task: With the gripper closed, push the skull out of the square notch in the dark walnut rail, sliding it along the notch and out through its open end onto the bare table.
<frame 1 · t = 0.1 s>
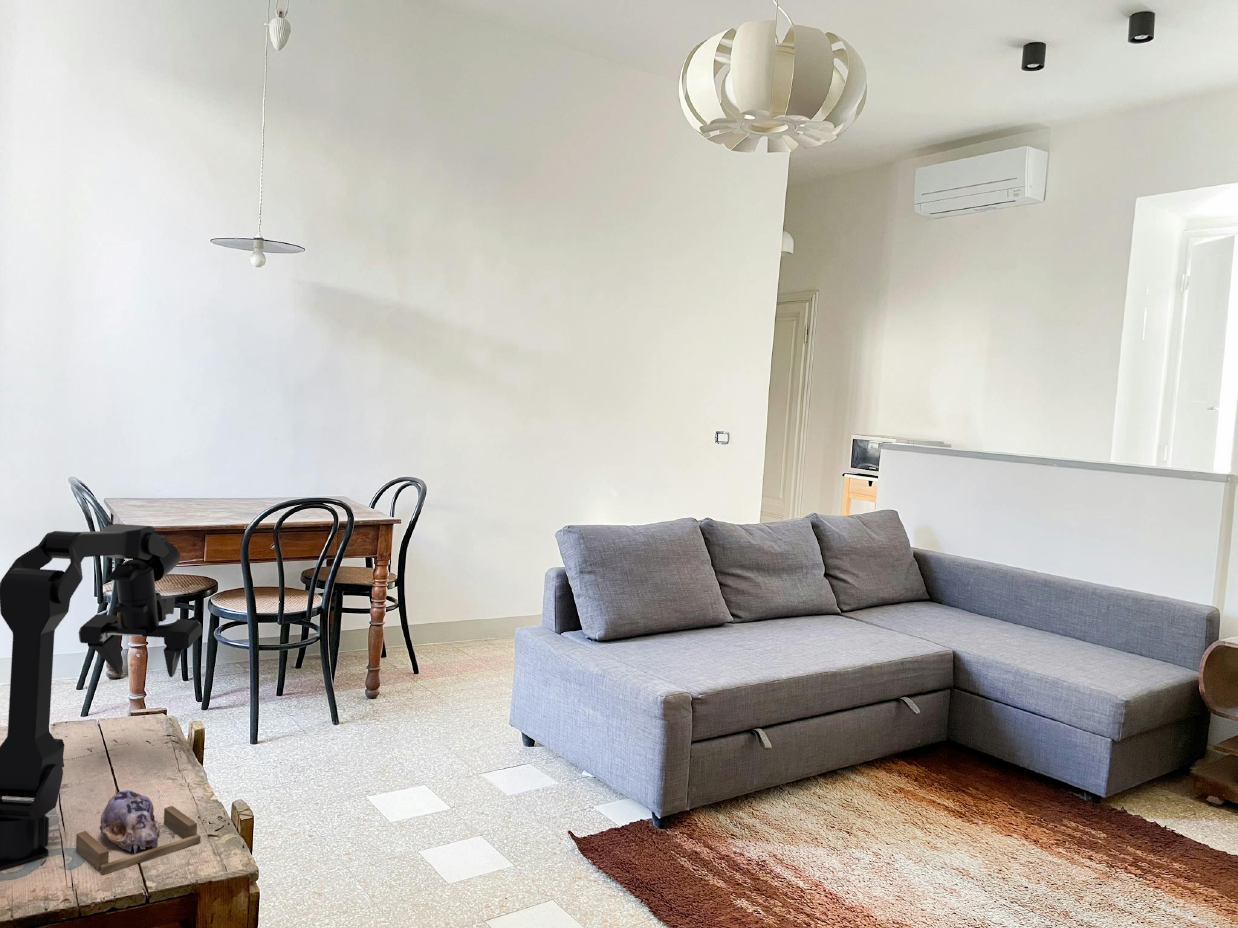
hand: (145, 674, 161), 15 cm above the table, tool pointing down, fingers open, 9 cm apart
rail notch: (139, 846, 132), on the table
skull: (131, 843, 134), on the table
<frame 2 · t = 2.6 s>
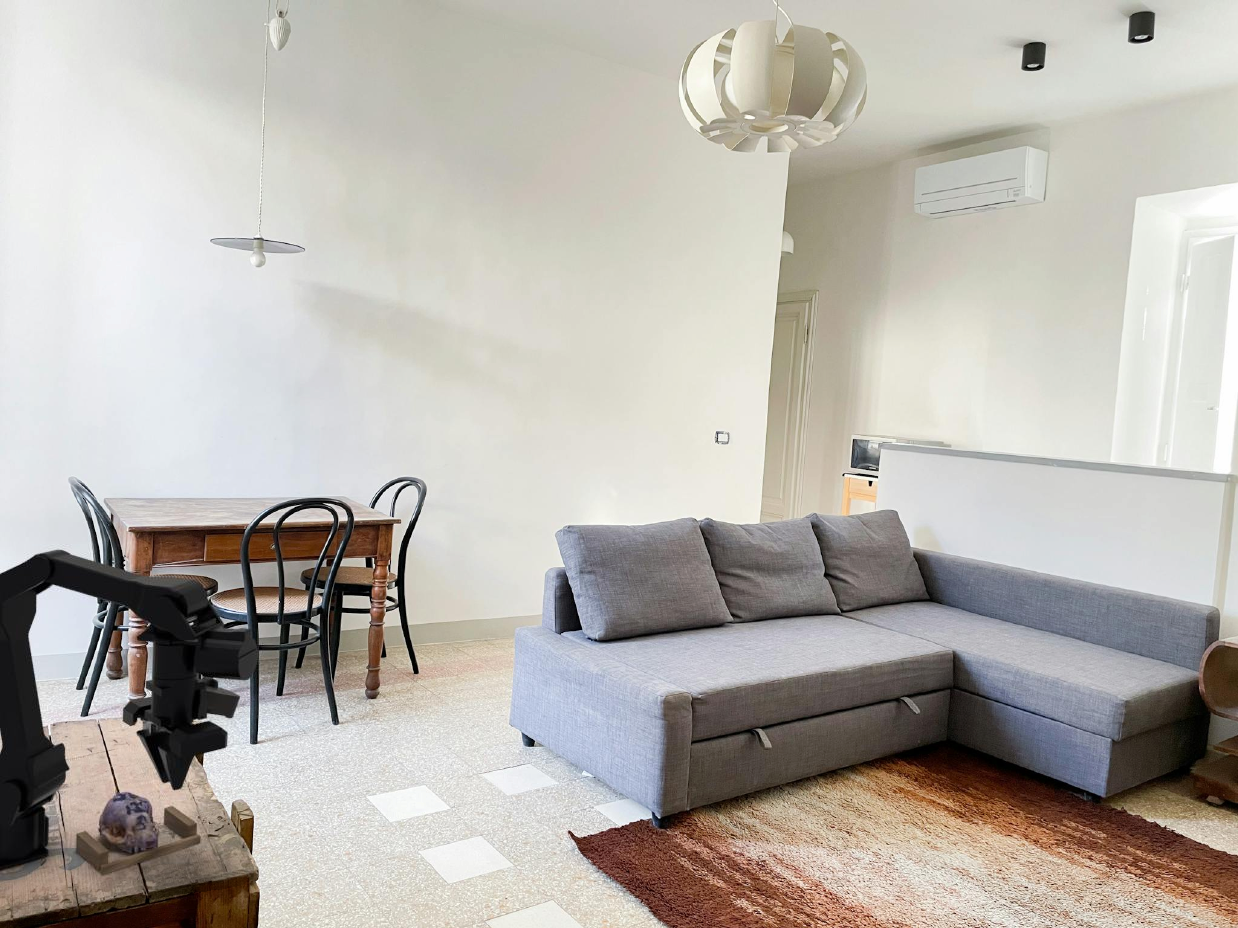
hand: (171, 785, 125), 12 cm above the table, tool pointing down, fingers open, 3 cm apart
nothing on the table moved.
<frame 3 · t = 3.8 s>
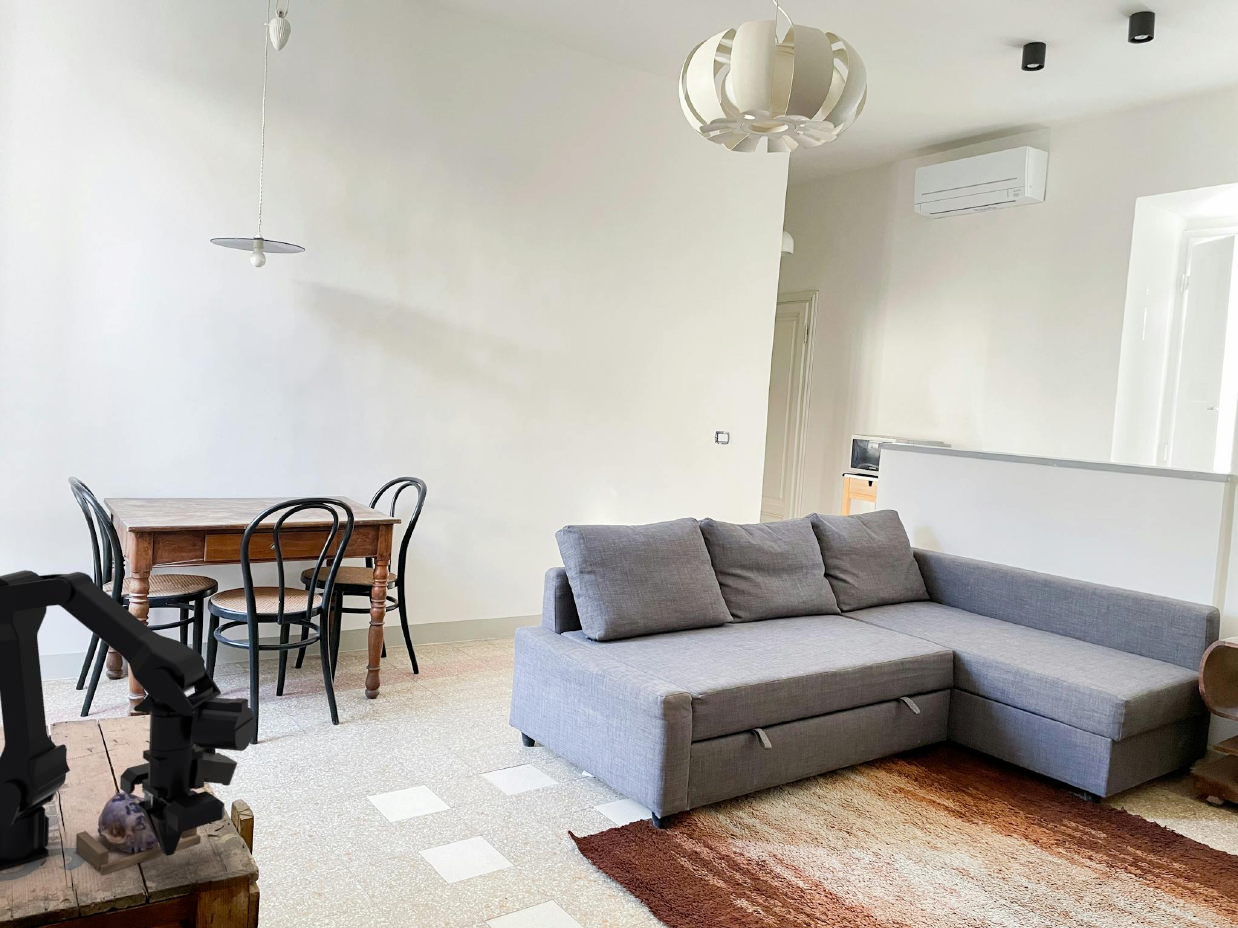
hand: (169, 854, 126), 2 cm above the table, tool pointing down, fingers closed
nothing on the table moved.
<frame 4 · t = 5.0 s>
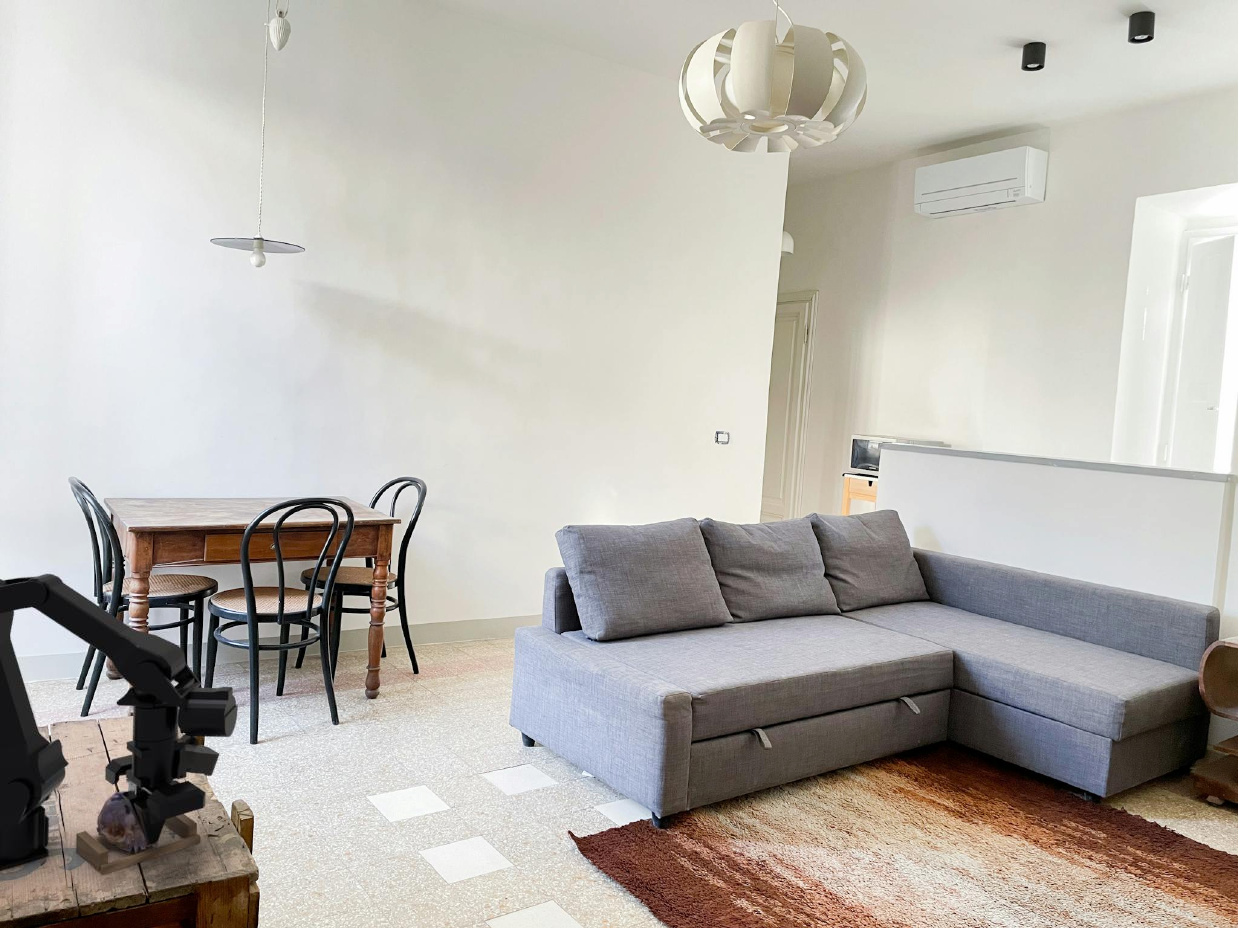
hand: (152, 842, 129), 2 cm above the table, tool pointing down, fingers closed
skull: (129, 843, 133), on the table, touching gripper
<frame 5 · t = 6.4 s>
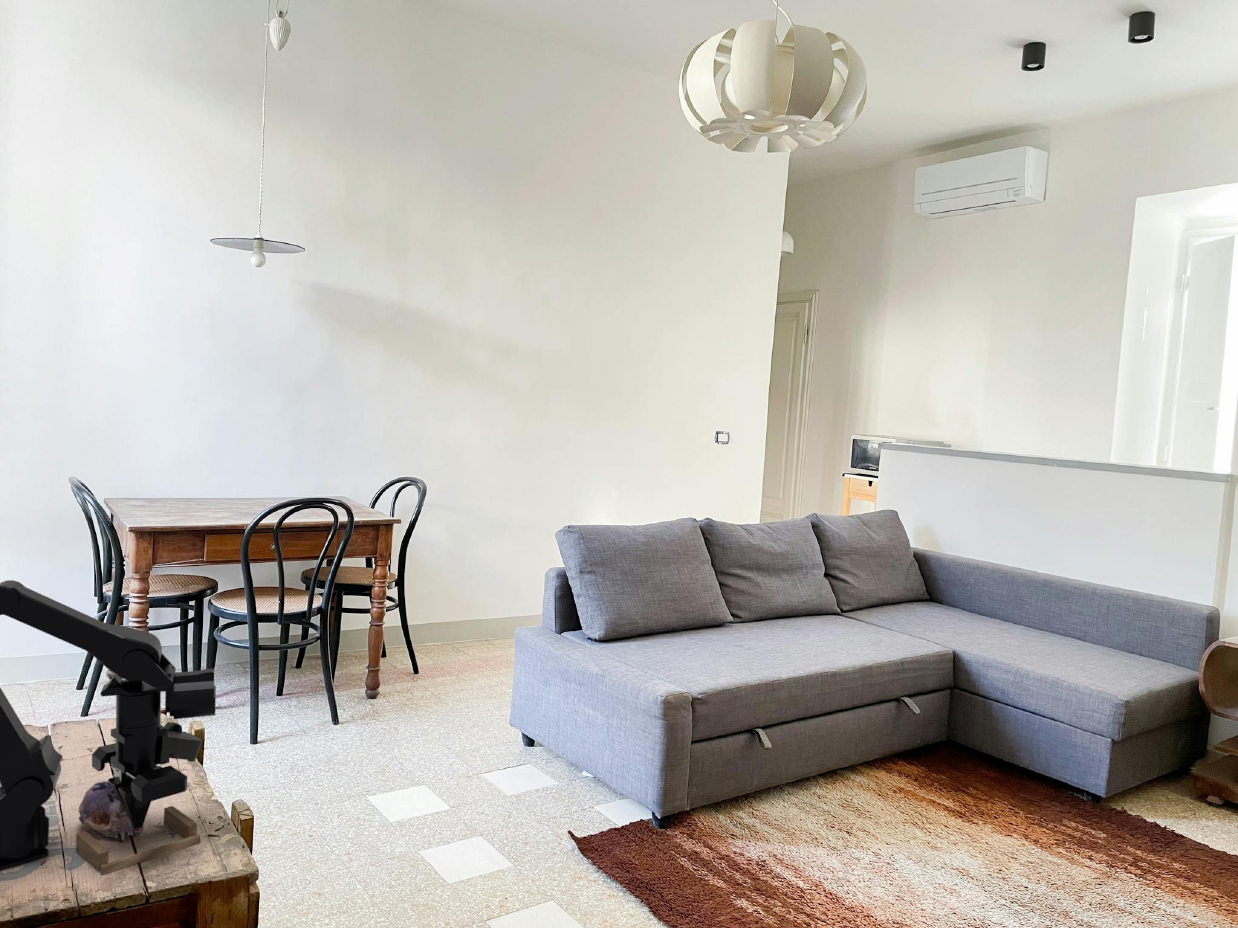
hand: (138, 826, 133), 2 cm above the table, tool pointing down, fingers closed
skull: (113, 831, 137), on the table, touching gripper
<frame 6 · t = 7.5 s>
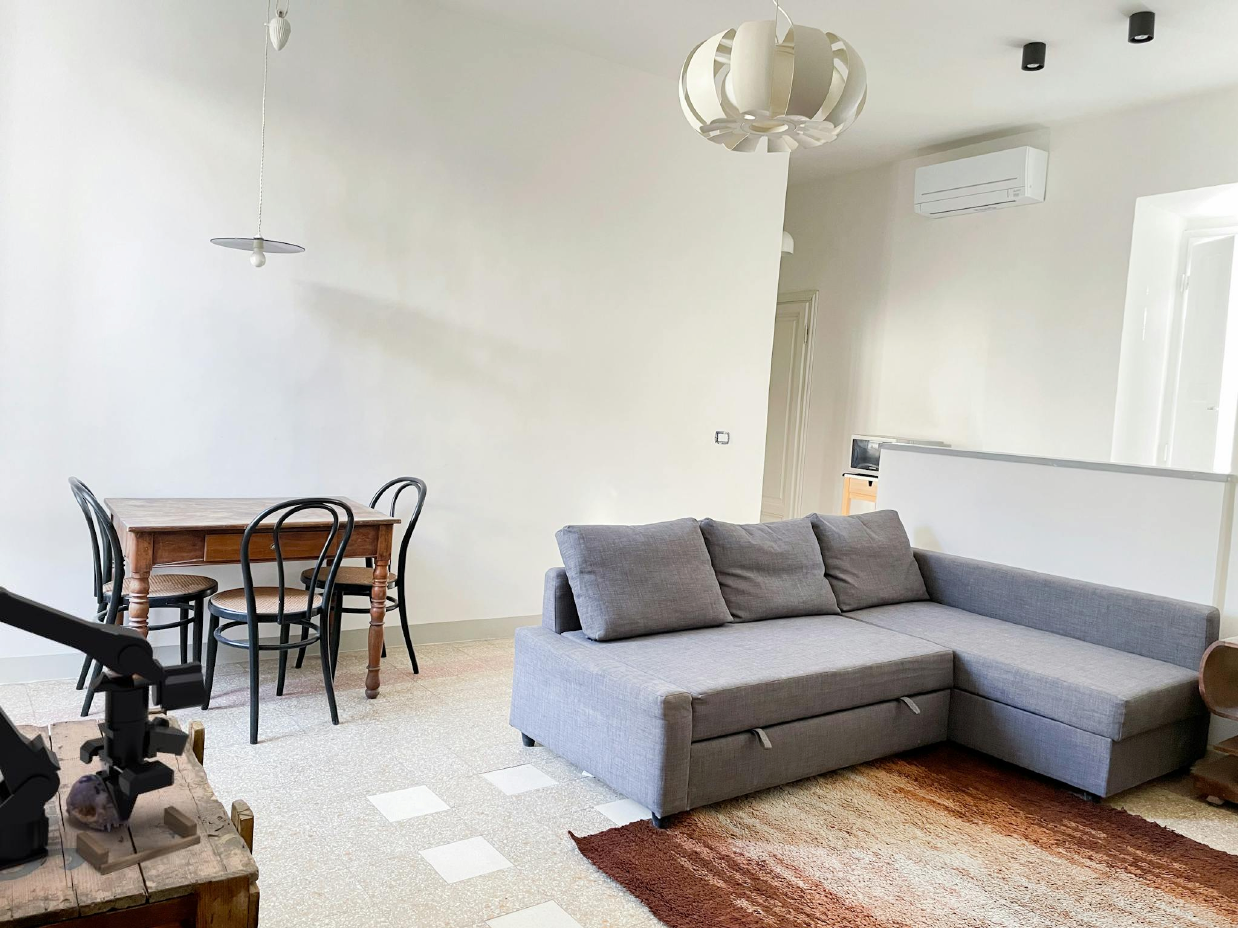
hand: (124, 819, 136), 2 cm above the table, tool pointing down, fingers closed
skull: (99, 823, 139), on the table, touching gripper
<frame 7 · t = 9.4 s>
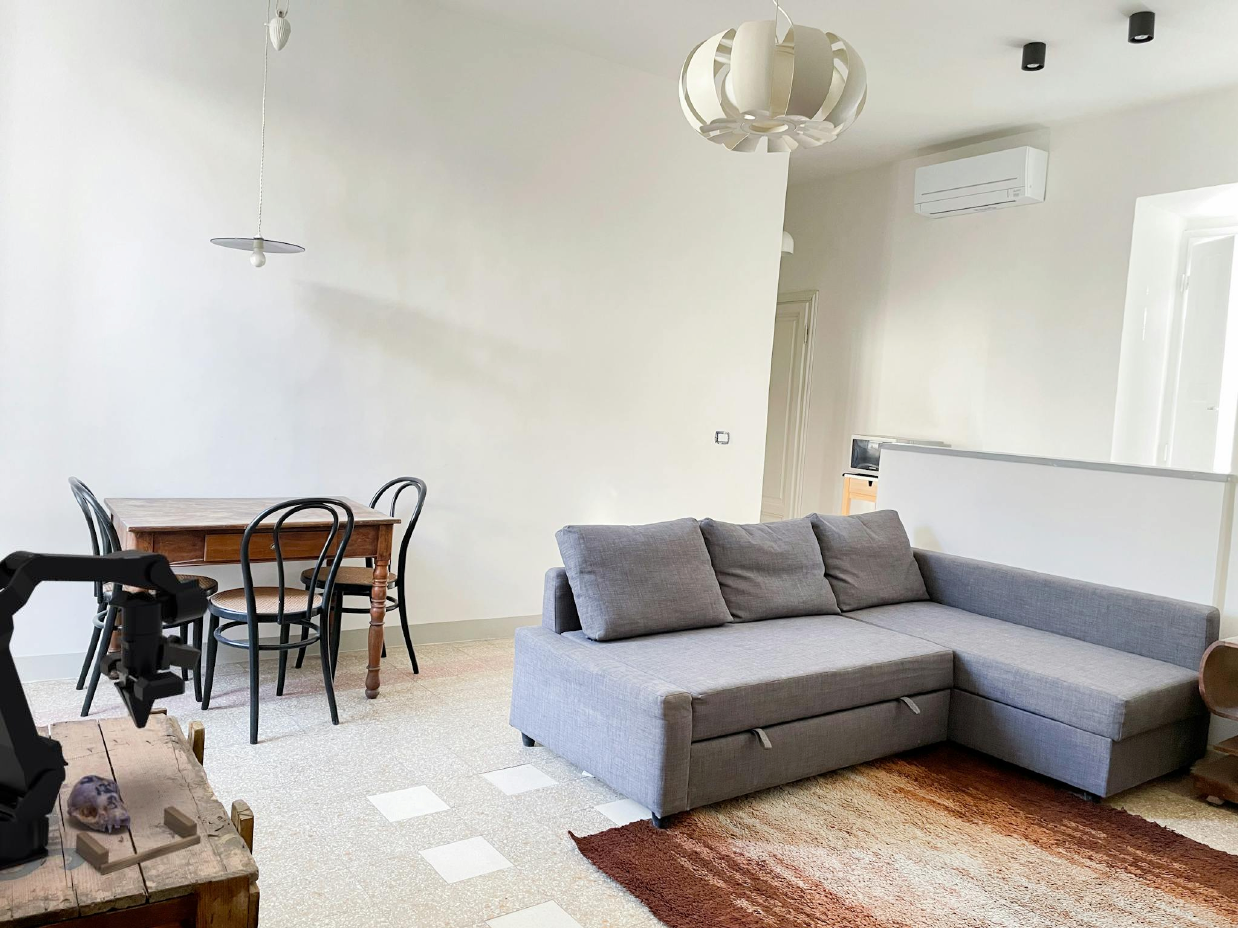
hand: (140, 727, 145), 12 cm above the table, tool pointing down, fingers closed
skull: (100, 824, 139), on the table
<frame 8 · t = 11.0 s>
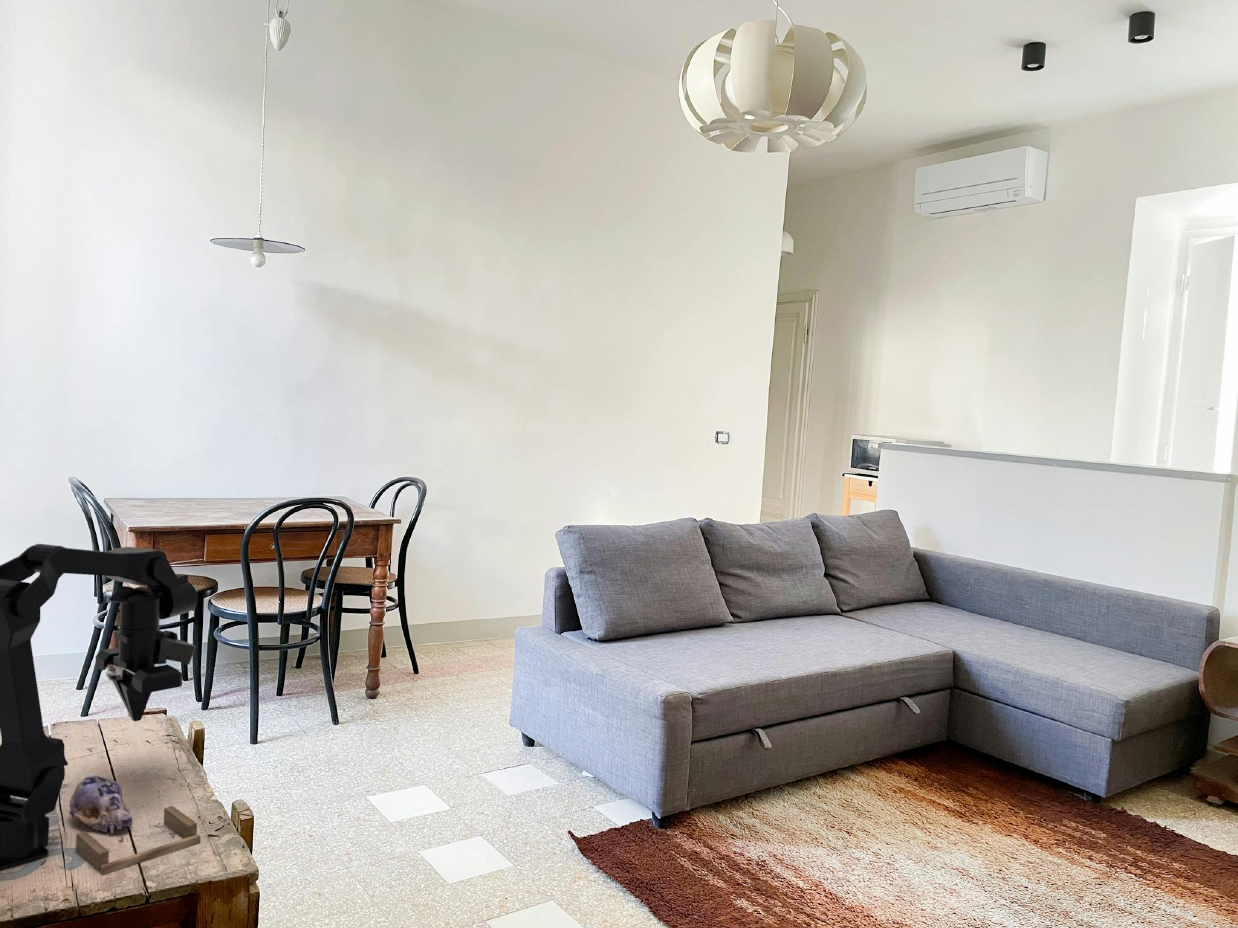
hand: (136, 720, 149), 12 cm above the table, tool pointing down, fingers closed
nothing on the table moved.
at the end: skull inside the target area (4.7 cm from its centre), on the table; skull moved 8.2 cm from its start; the gripper is holding nothing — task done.
